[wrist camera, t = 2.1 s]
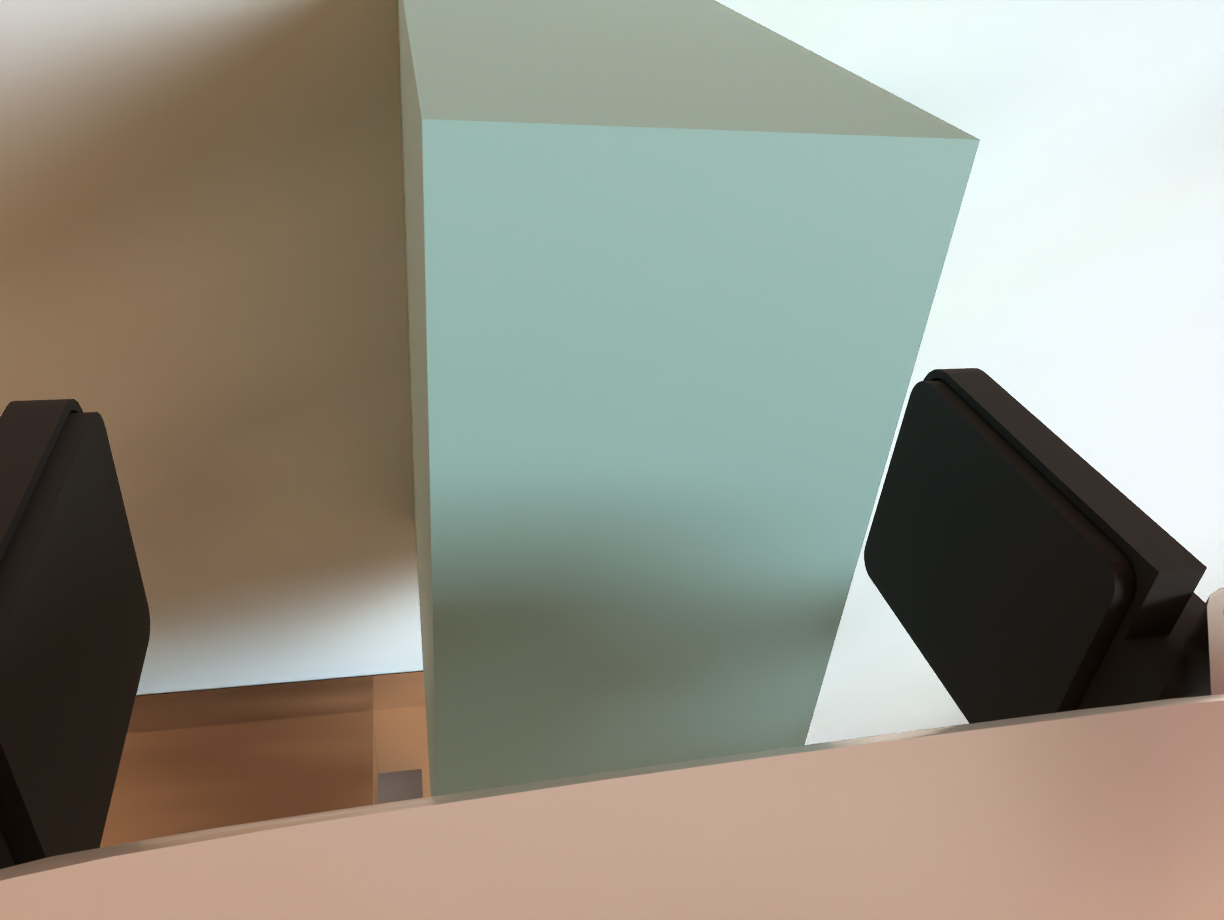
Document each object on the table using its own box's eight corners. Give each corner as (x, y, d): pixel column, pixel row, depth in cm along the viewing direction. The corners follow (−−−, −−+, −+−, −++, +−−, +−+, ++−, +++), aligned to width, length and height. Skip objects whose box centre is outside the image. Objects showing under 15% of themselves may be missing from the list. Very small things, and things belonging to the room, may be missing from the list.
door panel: (669, -24, 14) (979, 139, 7) (612, 513, 20) (752, 922, 12) (397, -44, 13) (421, 118, 6) (415, 524, 19) (440, 971, 11)
